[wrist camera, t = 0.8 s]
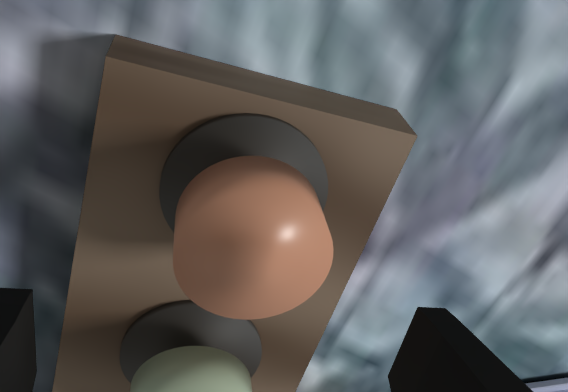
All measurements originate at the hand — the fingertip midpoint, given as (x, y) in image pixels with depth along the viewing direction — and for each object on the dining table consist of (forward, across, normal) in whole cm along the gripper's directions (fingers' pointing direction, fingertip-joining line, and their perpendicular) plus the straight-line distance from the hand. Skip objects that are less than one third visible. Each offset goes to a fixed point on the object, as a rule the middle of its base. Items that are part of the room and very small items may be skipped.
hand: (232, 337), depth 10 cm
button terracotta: (+5, -1, +1) cm, 5 cm away
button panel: (+8, 0, +8) cm, 11 cm away
